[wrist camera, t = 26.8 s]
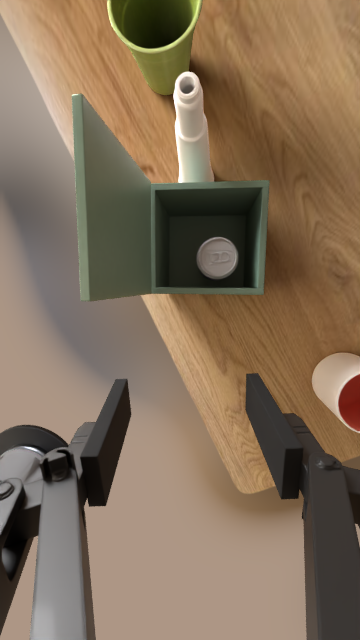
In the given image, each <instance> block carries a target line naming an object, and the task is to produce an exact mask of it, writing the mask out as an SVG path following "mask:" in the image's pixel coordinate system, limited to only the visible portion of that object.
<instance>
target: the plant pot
mask: <svg viewBox="0 0 360 640" xmlns="http://www.w3.org/2000/svg"><path fill="white" fill-rule="evenodd" d="M202 1H203V0H107V8H108V14H109V19H110V22H111V25H112V27H113V29H114V31H115V32H116V34H117V35H118V37H119V38H120V39H121V40H122V41H123V42H124V43H125V44H126V45H127V47H128V48H129V50H130V51H131V52H132V54H133V56H134V58H135V60H136V62H137V64H138V66H139V68H140V70H141V72H142V74H143V76H144V78H145V80H146V82H147V83H148V85H149V86H150V88H151V89H152V90H153V91H155V92H156V93H159V94H161V95H170V94H173V93H174V91H175V83H176V80H177V78H178V77H179V76H180V75H181V74H182V73H184V72H189V64H190V55H191V47H192V39H193V33H194V29H195V25H196V23H197V21H198V18H199V15H200V12H201V8H202Z"/></svg>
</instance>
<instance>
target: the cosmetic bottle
mask: <svg viewBox="0 0 360 640" xmlns="http://www.w3.org/2000/svg"><path fill="white" fill-rule="evenodd" d="M174 103H175V109H176V114H177V119H176V122H175V131H176V142H177V150H178V158H179V168H180V173H179V183H189V182H214V174H213V171H212V168H211V163H210V153H209V137H208V125H207V119H206V116H205V114H204V113H203V90H202V87H201V85H200V82H199V79H198V77H197V76H196V75H195V74H194V73H192V72H184V73H182V74H181V75H180V76H179V77H178V78H177V80H176V83H175V91H174Z"/></svg>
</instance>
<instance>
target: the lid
mask: <svg viewBox="0 0 360 640" xmlns="http://www.w3.org/2000/svg"><path fill="white" fill-rule="evenodd" d="M72 114H73V136H74V159H75V181H76V204H77V227H78V247H79V248H78V249H79V270H80V272H79V273H80V294H81V301H97V300H105V299H113V298H121V297H129V296H136V295H145V294H151V293H152V275H151V182H150V180H149V179H148V178H147V177H146V175H145V174H144V173H143V171H142V170H141V169H140V168H139V166H138V165H137V164H136V162H135V161H134V160H133V159H132V157H131V156H130V155H129V153H128V152H127V151H126V149H125V148H124V147H123V146H122V144H121V143H120V142H119V140H118V139H117V138H116V137H115V135H114V134H113V133H112V131H111V130H110V129H109V128H108V126H107V125H106V124H105V122H104V121H103V120H102V119H101V117H100V116H99V115H98V113H97V112H96V111H95V110H94V108H93V107H92V106H91V104H90V103H89V102H88V101H87V99H86V98H85V97H84V95H83V94H75V95H72Z"/></svg>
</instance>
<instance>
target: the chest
mask: <svg viewBox="0 0 360 640" xmlns="http://www.w3.org/2000/svg"><path fill="white" fill-rule="evenodd" d="M268 200H269V180H257V181H223V182H189V183H155V184H151V275H152V293H151V294H231V295H264V289H263V288H264V278H265V259H266V239H267V219H268ZM212 237H224V238H227V239H229V240H230V241H231V242H233V243H234V245H235V246H236V248H237V250H238V254H239V261H238V265H237V268H236V269H235V271H234V272H233V273H232V274H231V275H230V276H228V277H227V278H224V279H221V280H217V281H212V280H209V279H207V278H205V277H204V276H203V275H202V274H201V272H200V271H199V269H198V266H197V263H196V255H197V251H198V249H199V247H200V246H201V244H202V243H203V242H204V241H206V240H207V239H209V238H212Z"/></svg>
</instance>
